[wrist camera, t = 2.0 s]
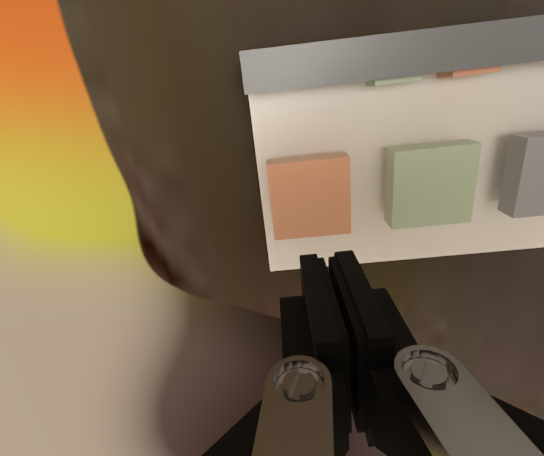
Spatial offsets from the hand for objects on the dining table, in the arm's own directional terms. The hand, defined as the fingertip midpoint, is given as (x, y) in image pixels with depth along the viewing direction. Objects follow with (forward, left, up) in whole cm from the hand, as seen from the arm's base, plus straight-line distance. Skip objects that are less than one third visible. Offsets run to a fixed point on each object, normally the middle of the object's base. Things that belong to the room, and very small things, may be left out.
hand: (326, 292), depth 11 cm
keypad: (-7, 0, -14) cm, 16 cm away
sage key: (-7, 0, -11) cm, 13 cm away
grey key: (-14, 0, -11) cm, 18 cm away
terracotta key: (0, 0, -11) cm, 11 cm away
